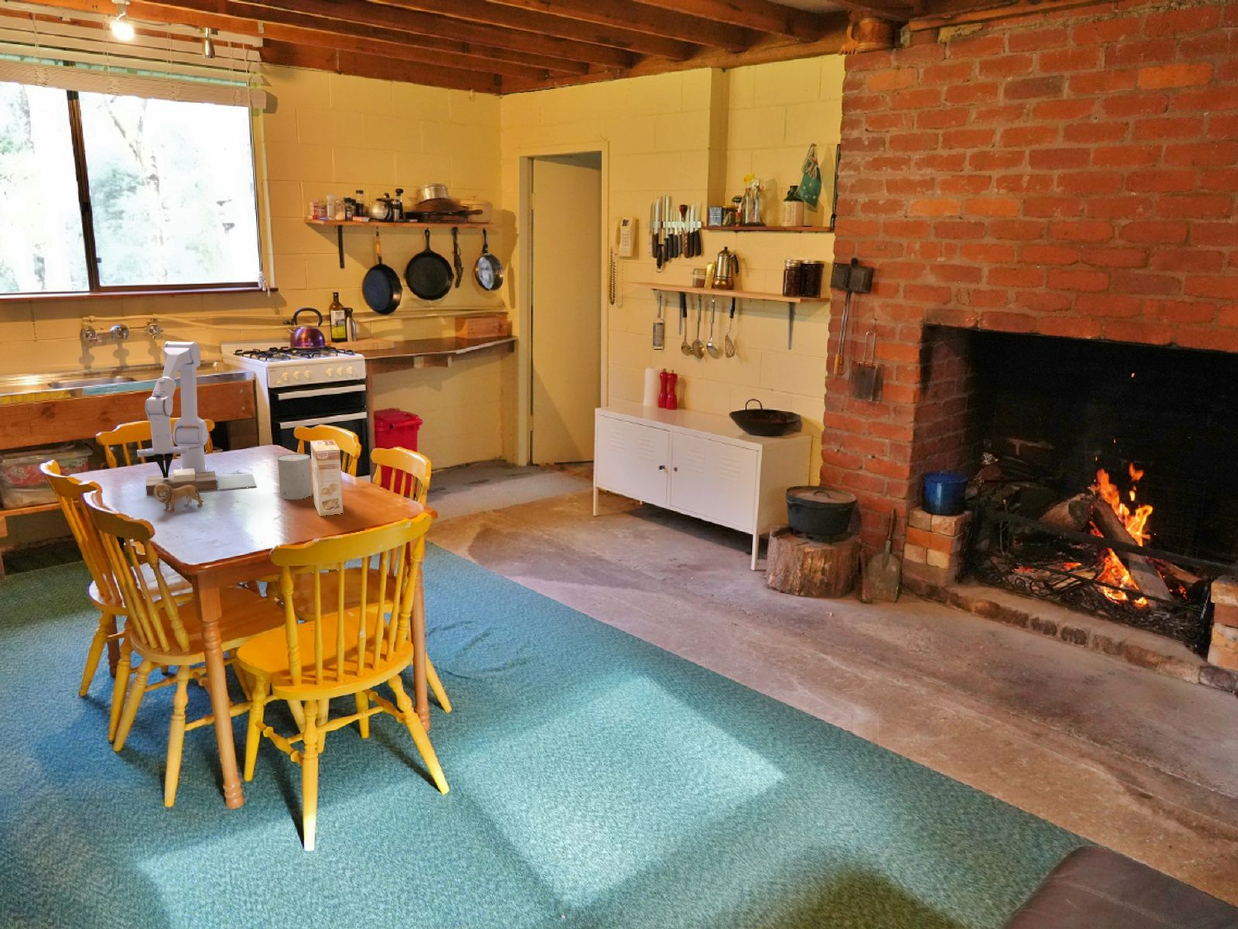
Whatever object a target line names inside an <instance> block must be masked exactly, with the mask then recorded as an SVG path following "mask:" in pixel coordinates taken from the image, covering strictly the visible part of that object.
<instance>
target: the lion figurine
mask: <svg viewBox="0 0 1238 929" xmlns="http://www.w3.org/2000/svg"><path fill="white" fill-rule="evenodd" d="M153 492H154V494H155V495H154V497H155V499H156V500H158V501H159V503H163V504H164V506H165V508H164V509H163V511H164V512H168V511H169V510H170V511H169V512H170V513H174V511H175V512H176V508H175V507H176V506H175V502H176V501H181V500H183V499H185V498H186V499H187V503H185V504H184V505H183V506H184V507H189V506H190V505H191V503H192V500H194V501H197V502H198V504H197V506H196V507H199V508H200V507H202V506H203V503H204V500H202V498H201V495H200V492H199V491H198V490H197V488H196V487H194V486H192V485H186V486H183V487H180V488H173V487H172V486H170V485H166V484H164V483H160V484H157V485H156V486H155V487H154V491H153Z"/></svg>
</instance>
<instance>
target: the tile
mask: <svg viewBox="0 0 1238 929" xmlns="http://www.w3.org/2000/svg"><path fill="white" fill-rule="evenodd" d="M173 474H174V482H181V481H192V480H195V471H194V468H191V469H181V468H180V469H173Z"/></svg>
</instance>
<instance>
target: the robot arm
mask: <svg viewBox="0 0 1238 929" xmlns="http://www.w3.org/2000/svg"><path fill="white" fill-rule="evenodd" d="M162 353H163V354H162V355H163V358H164V360H165V363H164V368H163V371H162V377H159V378H158V379H157V380H156V382H155V386H154V388H153V390H152V394H151V396H149V398H147V399H146V400H145V403H144V411H145V414H146V416H147V420H148V421H149V422H150V434H151V443H152V444H151V445H152V447H150V448H145V449H137V450H136V454H137V455H136V456H137V458H142V457H150V456H151V457H152V456H153V459H154V460H155V462H156V464H157V465H158V467H159V468H160V471H161V473H162V475H163V478H168V475H169V473H170V468H171V464H172V462H173V459H174V455H178V454H179V455H180V460H181V467H180V469H191V468H194V471H195V473H198V472H208V467H207V465H206V460H205V448H204V446H205V445H206V444H207V443H208V440H209V430H208V425H207V422H206V421H205V420H203V419H202V418H200V417H199V416H198V394H197V393H198V392H197V391H198V390H197V389H198V388H197V387H198V386H197V384H198V383H197V368H199V367H200V366H201V361H202V360H201V358H202V357H201V347H200V346H199V343H198V342H196V341H166V342H165V343H164V344H163V347H162ZM179 371H180V372H179ZM178 373H179V376H180V378H179V379H180V380H179V381H180V382H179V385H180V413H181V417H180V418H179V419H177V420H176V421H175V422H174V423H173V424H174V425H173V432H172V424H171V422H172V421H171V415H172V413H173V406H174V405H173V404H174V400H173V397H174V394H175V391H176V387H177V383H176V382H175V380H176V378H177V376H178ZM173 442H174V444H175V445H176V446H174V444H173Z"/></svg>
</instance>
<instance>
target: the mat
mask: <svg viewBox="0 0 1238 929" xmlns="http://www.w3.org/2000/svg"><path fill="white" fill-rule="evenodd" d="M216 481H217V488H218V490H220V491H228V490H229V491H231V489H232V490H238V489H239V488H243V489H248V488H247V487H254V488H257V484H256V481H255V477H254V476H253V473H248V474H247V473H246V474H234V475H225V476H222V475H221V476H216ZM239 490H240V489H239Z"/></svg>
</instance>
